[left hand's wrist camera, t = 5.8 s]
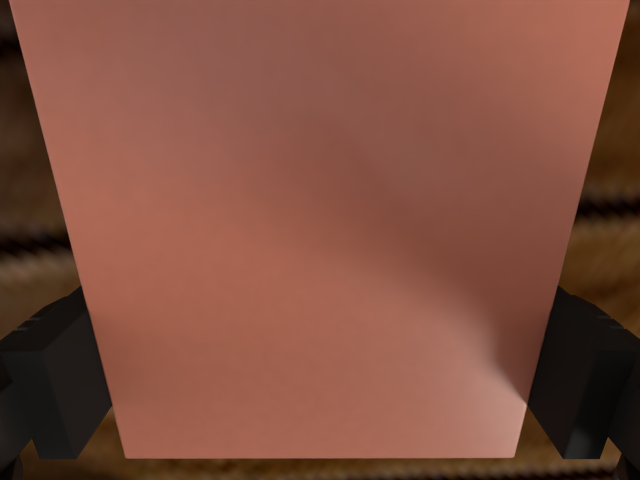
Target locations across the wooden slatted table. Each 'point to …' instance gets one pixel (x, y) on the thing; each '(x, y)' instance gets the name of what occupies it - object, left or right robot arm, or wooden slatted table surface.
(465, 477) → the wooden slatted table surface
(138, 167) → the cabinet
